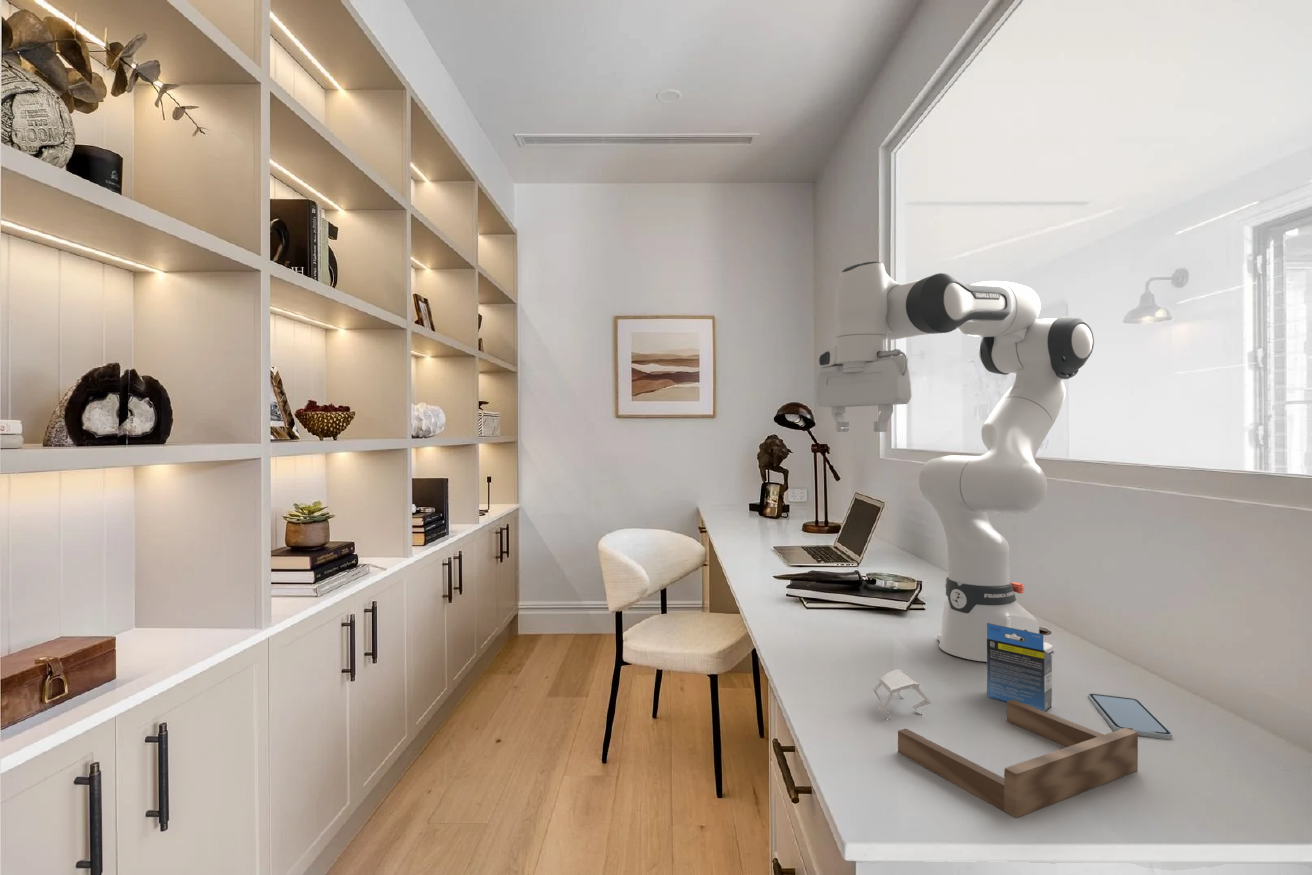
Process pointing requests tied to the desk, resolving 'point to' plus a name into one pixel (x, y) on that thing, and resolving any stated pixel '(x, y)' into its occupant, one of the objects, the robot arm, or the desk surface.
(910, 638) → the desk surface
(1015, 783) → the walnut bay
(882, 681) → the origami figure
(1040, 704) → the label tape cartridge
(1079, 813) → the desk surface
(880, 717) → the desk surface
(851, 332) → the robot arm
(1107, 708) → the smartphone
